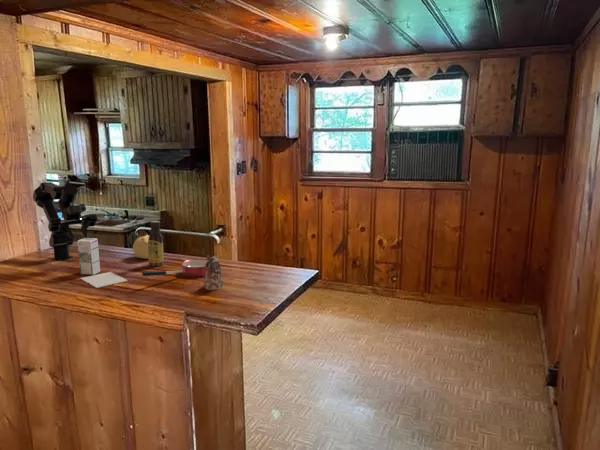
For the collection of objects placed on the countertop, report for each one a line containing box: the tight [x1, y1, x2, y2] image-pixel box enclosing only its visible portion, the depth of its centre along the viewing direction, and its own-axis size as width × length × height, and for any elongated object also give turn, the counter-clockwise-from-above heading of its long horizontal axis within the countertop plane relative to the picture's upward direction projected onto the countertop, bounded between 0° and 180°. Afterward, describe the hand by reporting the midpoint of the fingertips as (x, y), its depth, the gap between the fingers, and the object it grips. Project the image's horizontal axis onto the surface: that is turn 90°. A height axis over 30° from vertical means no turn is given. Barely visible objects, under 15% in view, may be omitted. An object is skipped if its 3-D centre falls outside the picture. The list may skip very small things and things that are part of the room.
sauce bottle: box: [148, 220, 164, 267], centre depth 191 cm, size 7×6×20 cm
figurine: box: [203, 255, 224, 291], centre depth 163 cm, size 7×7×12 cm
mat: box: [80, 271, 129, 289], centre depth 171 cm, size 16×12×1 cm
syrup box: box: [77, 237, 101, 276], centre depth 179 cm, size 6×6×14 cm
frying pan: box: [141, 258, 210, 278], centre depth 173 cm, size 32×13×6 cm, turn 148°
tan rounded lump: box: [132, 234, 150, 260], centre depth 204 cm, size 11×12×11 cm
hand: (79, 238), depth 183 cm, fingers open, 5 cm apart
